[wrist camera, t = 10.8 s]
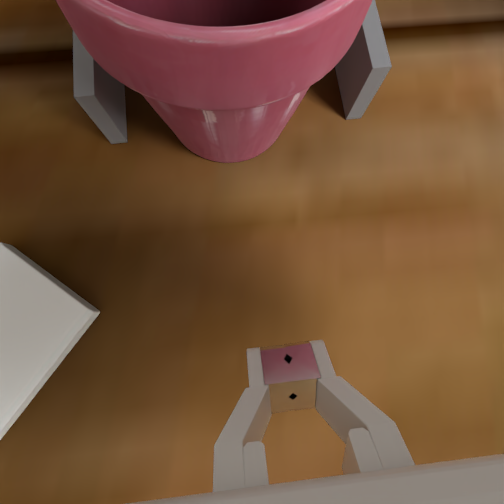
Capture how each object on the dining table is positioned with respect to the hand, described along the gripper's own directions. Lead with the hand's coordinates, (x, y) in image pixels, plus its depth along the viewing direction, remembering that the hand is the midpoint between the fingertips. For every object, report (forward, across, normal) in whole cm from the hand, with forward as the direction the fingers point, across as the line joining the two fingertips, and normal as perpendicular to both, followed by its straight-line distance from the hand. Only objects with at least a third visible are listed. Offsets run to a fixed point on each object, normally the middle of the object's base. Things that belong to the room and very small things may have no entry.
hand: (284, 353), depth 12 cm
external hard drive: (+7, +18, +5) cm, 20 cm away
